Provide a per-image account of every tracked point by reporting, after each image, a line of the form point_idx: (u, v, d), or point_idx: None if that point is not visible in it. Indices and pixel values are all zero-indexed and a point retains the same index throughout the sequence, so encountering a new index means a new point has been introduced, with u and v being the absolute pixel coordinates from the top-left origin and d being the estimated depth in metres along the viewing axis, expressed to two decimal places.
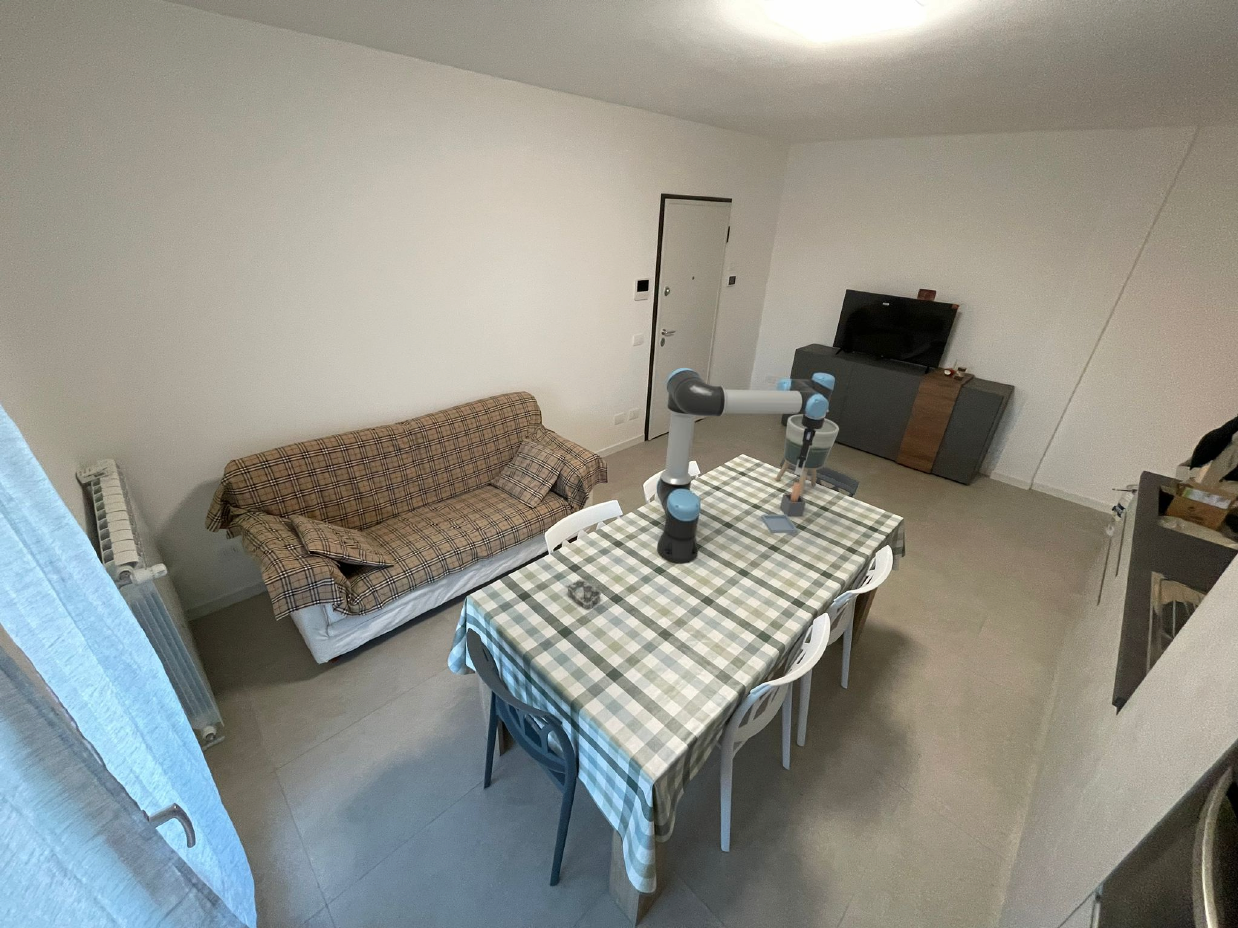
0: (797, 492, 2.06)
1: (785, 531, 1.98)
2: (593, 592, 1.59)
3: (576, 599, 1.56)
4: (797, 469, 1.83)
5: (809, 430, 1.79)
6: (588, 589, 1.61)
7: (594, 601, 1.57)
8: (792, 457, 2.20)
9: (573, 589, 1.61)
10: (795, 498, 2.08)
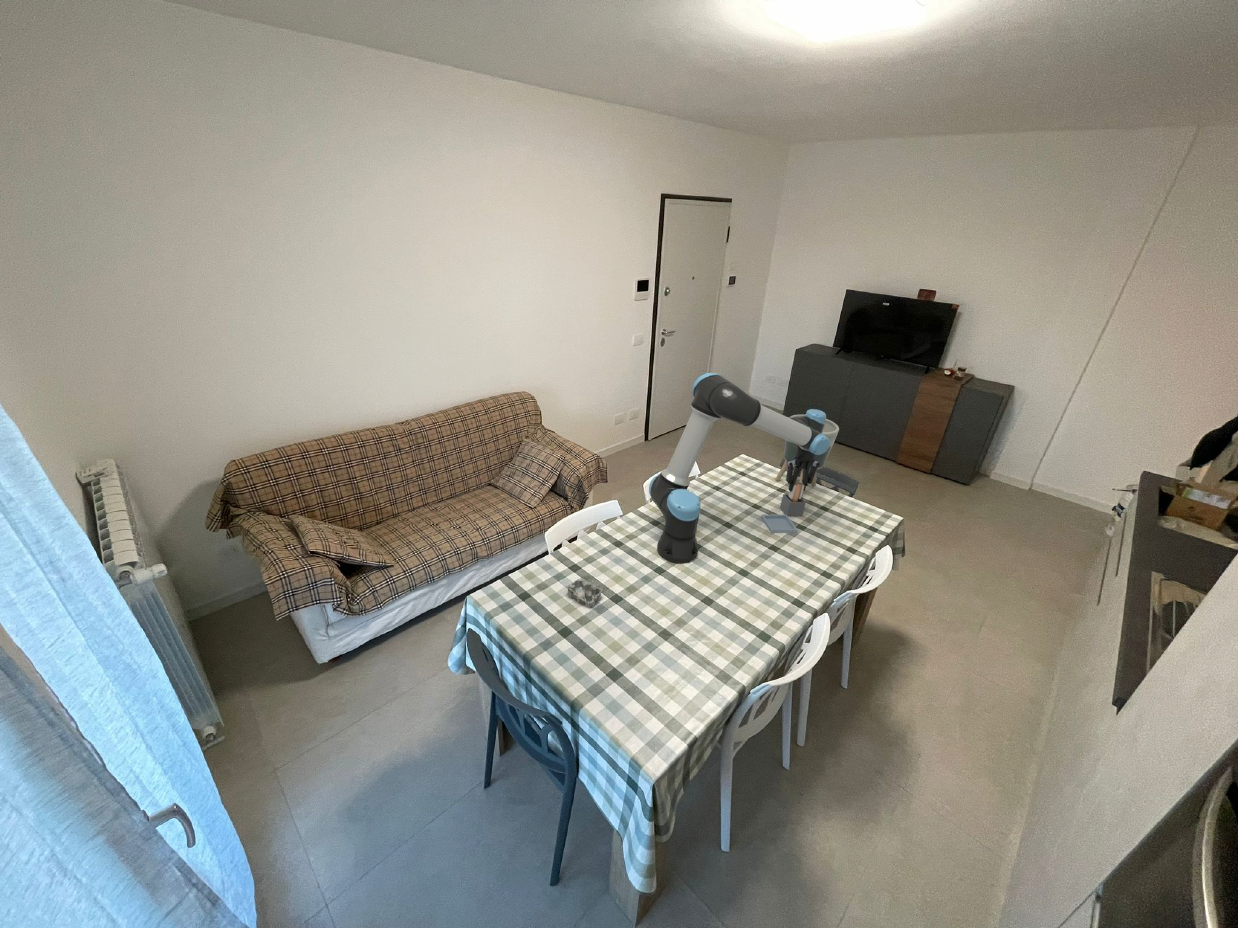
0: (797, 492, 2.06)
1: (785, 531, 1.98)
2: (593, 590, 1.60)
3: (578, 599, 1.56)
4: (789, 492, 2.09)
5: (794, 458, 2.00)
6: (587, 588, 1.62)
7: (595, 599, 1.58)
8: (793, 457, 2.20)
9: (572, 589, 1.61)
10: (795, 498, 2.08)
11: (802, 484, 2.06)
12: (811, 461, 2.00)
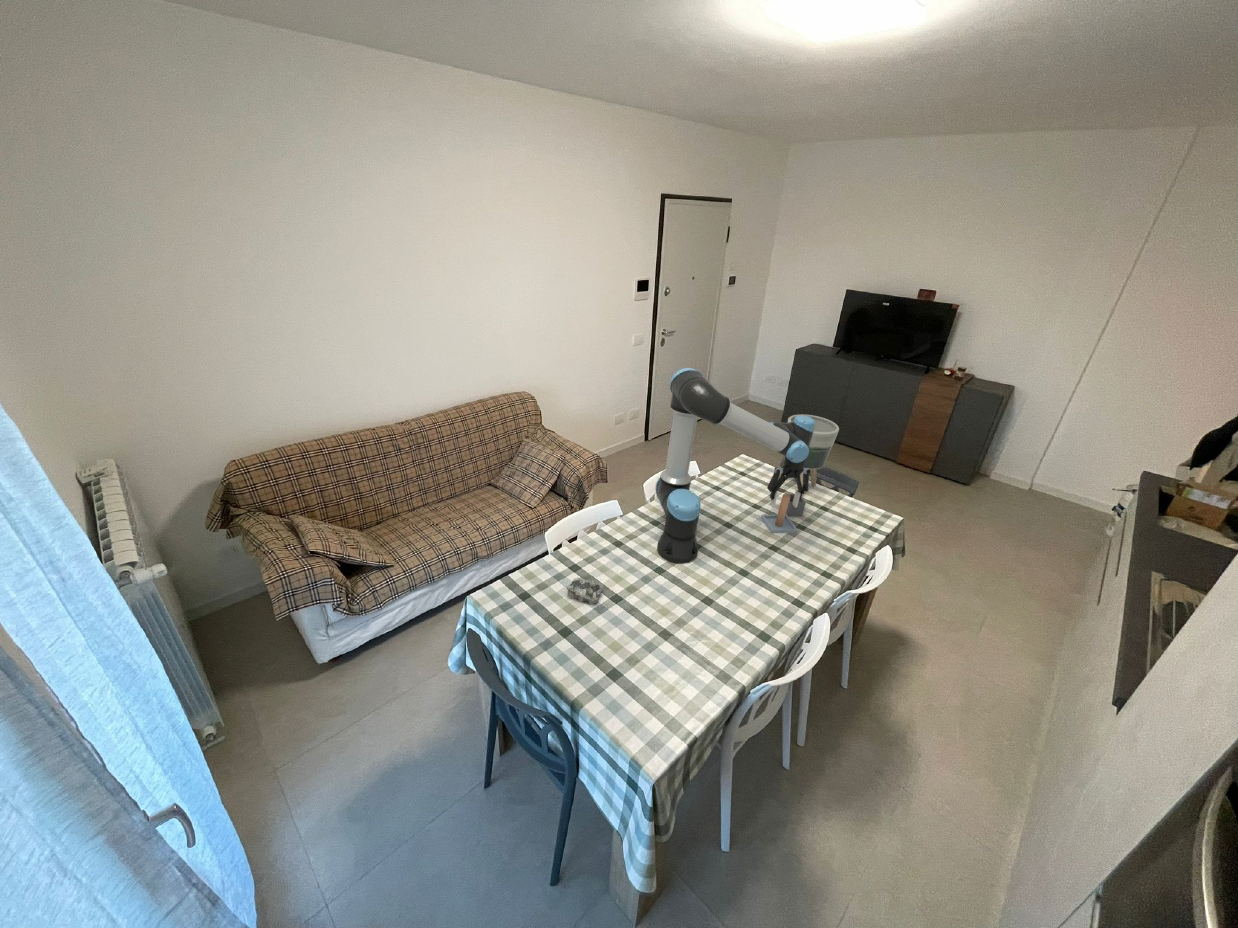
0: (785, 504, 1.97)
1: (785, 531, 1.98)
2: (593, 587, 1.61)
3: (581, 598, 1.57)
4: (771, 500, 1.98)
5: (783, 466, 1.90)
6: (585, 586, 1.63)
7: None
8: None
9: (572, 590, 1.60)
10: (783, 511, 1.98)
11: (798, 492, 1.96)
12: (800, 470, 1.91)
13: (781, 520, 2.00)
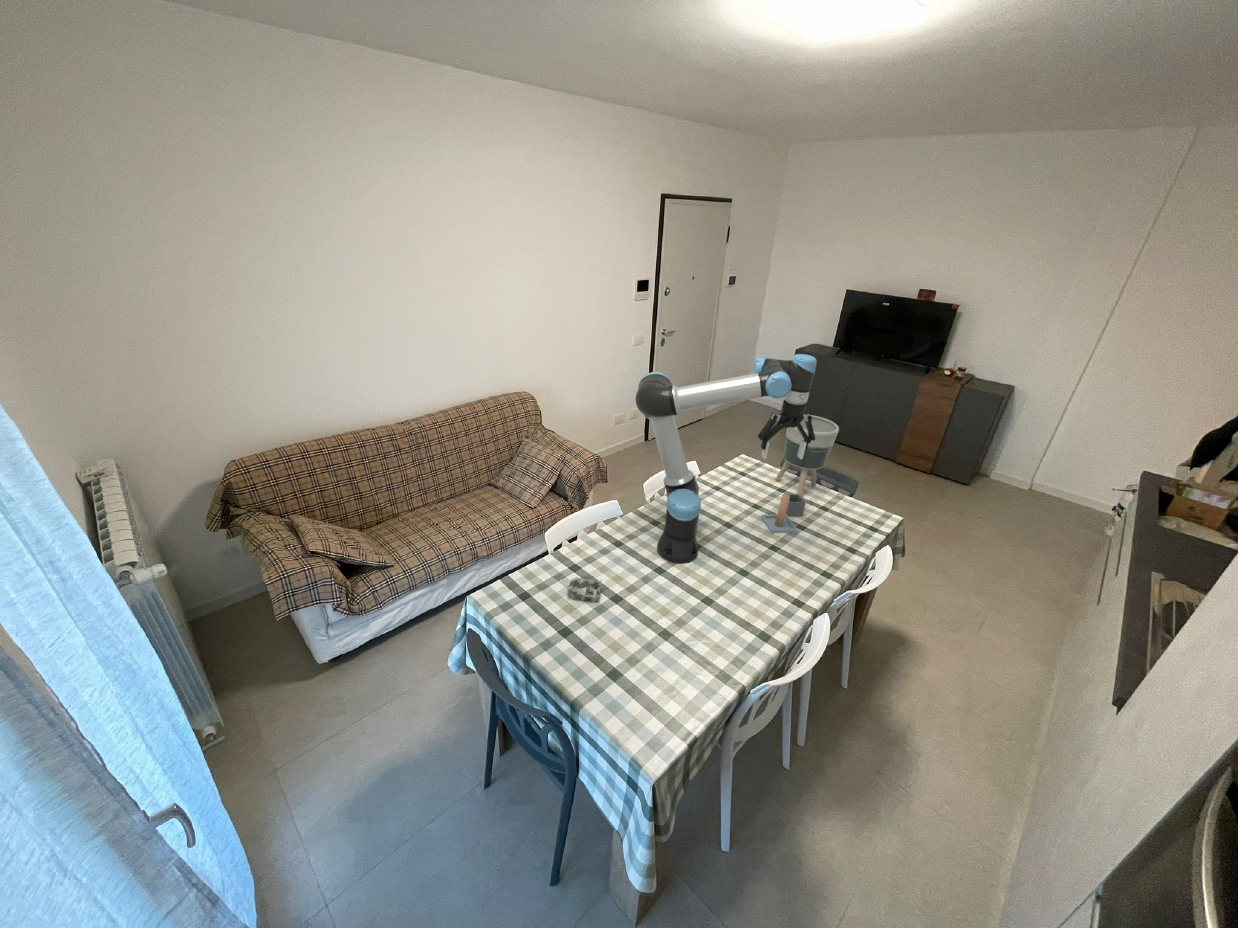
0: (785, 504, 1.97)
1: (785, 531, 1.98)
2: (592, 585, 1.62)
3: (583, 597, 1.57)
4: (762, 451, 1.75)
5: (781, 413, 1.68)
6: (584, 585, 1.63)
7: None
8: (793, 457, 2.20)
9: None
10: (783, 510, 1.98)
11: (804, 441, 1.74)
12: (799, 419, 1.69)
13: (781, 520, 2.00)
